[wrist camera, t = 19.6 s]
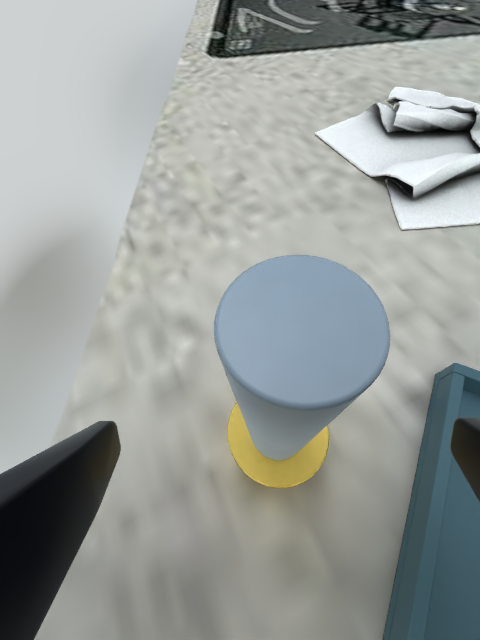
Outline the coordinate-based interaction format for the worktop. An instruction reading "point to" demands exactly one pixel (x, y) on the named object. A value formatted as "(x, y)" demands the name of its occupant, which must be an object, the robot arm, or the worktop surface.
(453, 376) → the tray
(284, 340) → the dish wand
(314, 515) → the worktop surface
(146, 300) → the worktop surface
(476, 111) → the cloth
